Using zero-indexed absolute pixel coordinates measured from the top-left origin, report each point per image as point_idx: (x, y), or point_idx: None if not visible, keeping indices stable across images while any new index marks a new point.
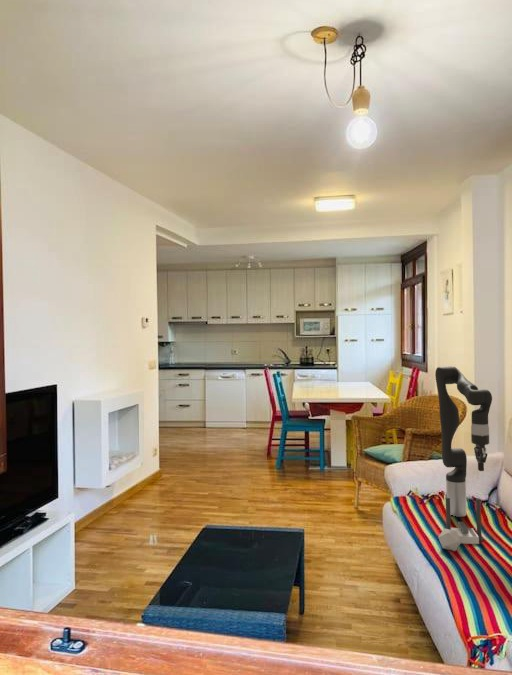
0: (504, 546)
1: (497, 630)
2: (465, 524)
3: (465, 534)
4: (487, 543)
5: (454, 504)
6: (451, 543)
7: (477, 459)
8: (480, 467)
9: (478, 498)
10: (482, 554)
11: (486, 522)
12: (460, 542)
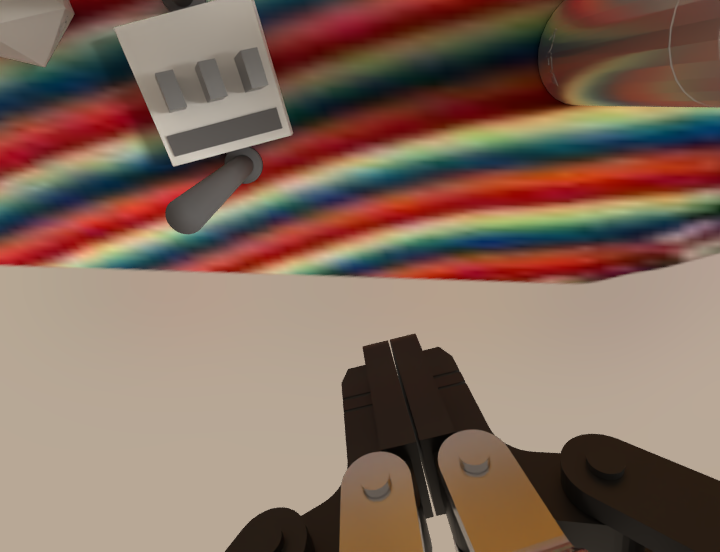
0: (209, 265)
1: None
2: (209, 95)
3: None
4: None
5: (585, 23)
6: None
7: (482, 490)
8: (345, 410)
9: (202, 218)
10: (57, 173)
11: (483, 201)
12: (28, 62)
